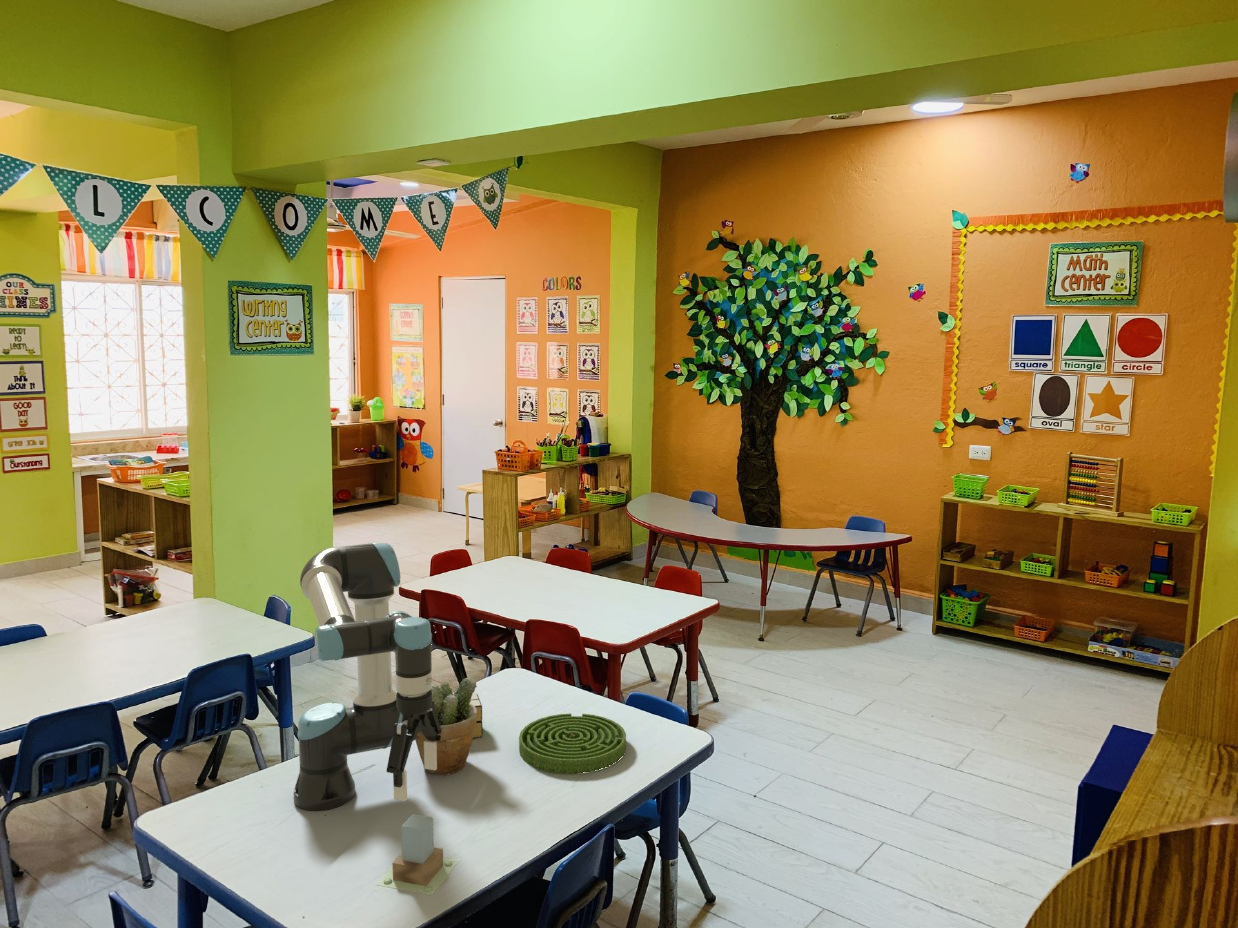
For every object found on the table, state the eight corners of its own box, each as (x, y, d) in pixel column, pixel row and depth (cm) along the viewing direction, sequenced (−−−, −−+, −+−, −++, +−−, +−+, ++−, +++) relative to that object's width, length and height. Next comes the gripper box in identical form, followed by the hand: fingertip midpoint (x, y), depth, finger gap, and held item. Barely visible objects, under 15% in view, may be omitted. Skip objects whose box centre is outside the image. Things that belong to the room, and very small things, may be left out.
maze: (626, 727, 275) (626, 712, 274) (624, 776, 244) (625, 759, 243) (526, 725, 276) (526, 710, 275) (512, 774, 245) (512, 757, 244)
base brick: (393, 879, 194) (392, 862, 194) (410, 859, 202) (410, 842, 201) (426, 885, 192) (426, 868, 192) (443, 865, 200) (442, 848, 199)
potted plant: (427, 788, 236) (425, 698, 233) (399, 761, 251) (397, 676, 247) (489, 769, 247) (488, 682, 243) (459, 744, 262) (458, 662, 258)
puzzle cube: (444, 727, 273) (444, 696, 272) (477, 723, 276) (477, 692, 275) (448, 741, 264) (448, 709, 262) (482, 737, 267) (482, 705, 265)
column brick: (402, 860, 195) (401, 825, 194) (413, 847, 200) (412, 814, 198) (423, 863, 194) (422, 829, 192) (433, 851, 198) (433, 817, 197)
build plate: (376, 888, 193) (376, 883, 193) (406, 855, 205) (406, 850, 205) (431, 899, 189) (431, 893, 189) (458, 864, 202) (458, 859, 202)
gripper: (401, 716, 178) (403, 815, 182) (455, 671, 202) (456, 759, 205) (367, 711, 180) (370, 809, 184) (425, 667, 204) (427, 754, 207)
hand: (416, 783), depth 195 cm, fingers open, 13 cm apart
